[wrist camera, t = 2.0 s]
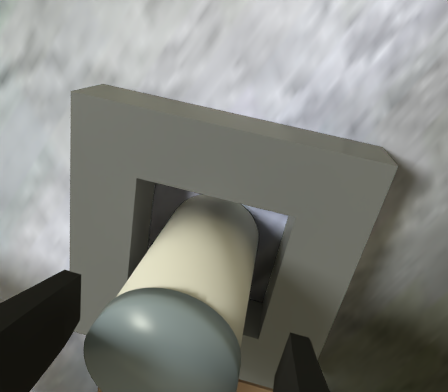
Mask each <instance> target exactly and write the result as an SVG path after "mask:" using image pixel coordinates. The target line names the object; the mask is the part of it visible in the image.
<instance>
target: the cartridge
mask: <svg viewBox="0 0 448 392" xmlns="http://www.w3.org/2000/svg"><path fill="white" fill-rule="evenodd" d="M258 240H259V235H258V229H257V225H256V223H255V221H254V219H253V217H252V215H251V214H250V213H249V212H248V210H247V209H246V208H245V207H244V206H242V205H241V204H240V203H236V202H232V201H228V200H224V199H220V198H215V197H211V196H207V195H203V194H201V195H197V196H194V197H191V198H189V199H187V200H186V201H185V202H183V203H182V204H181V205H180V206H179V207H178V208H177V209H176V211H175V212H174V214H173V215H172V217H171V218H170V220H169V221H168V222H167V224H166V225H165V227H164V228H163V230H162V231H161V233H160V234H159V235H158V237H157V238H156V240H155V241H154V243H153V244H152V246H151V247H150V248H149V250H148V251H147V253H146V254H145V256H144V257H143V259H142V260H141V262H140V263H139V264H138V266H137V267H136V269H135V270H134V272H133V273H132V275H131V276H130V277H129V279H128V280H127V282H126V283H125V285H124V286H123V288H122V289H121V291H120V292H119V293H118V295H117V296H116V298H114V299H113V300H112V301H111V302H109V303H108V304H107V306H106V307H105V308H104V309H103V311H102V312H101V314H100V315H99V316H98V318H97V319H96V321H95V322H94V323H93V325H92V326H91V328H90V329H89V331H88V333H87V335H86V338H85V342H84V359H85V363H86V366H87V369H88V372H89V373H90V375H91V377H92V379H93V380H94V382H95V383H96V385H97V386H98V387H99V388H100V390H101V391H102V392H236V391H237V386H238V380H239V373H240V367H241V350H240V347H241V341H242V335H243V329H244V323H245V318H246V312H247V306H248V300H249V294H250V288H251V282H252V276H253V271H254V265H255V259H256V253H257V247H258Z"/></svg>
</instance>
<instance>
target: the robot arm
mask: <svg viewBox="0 0 448 392" xmlns="http://www.w3.org/2000/svg"><path fill="white" fill-rule="evenodd" d="M80 313H81V274H78V273H74V272H71V271H67V270H63V271H61V272H59V273H57V274H56V275H54V276H52V277H50V278H48V279H46V280H44V281H42V282H40V283H39V284H37V285H35V286H33V287H31V288H29V289H27V290H25V291H23V292H21V293H20V294H18V295H16V296H14V297H12V298H10V299H8V300H6V301H4V302H2V303H0V392H29V391H30V390H31V389H32V388H33V386H34V385H35V384H36V383H37V381H38V380H39V379H40V377H41V376H42V375H43V374H44V372H45V371H46V370H47V368H48V367H49V366H50V365H51V363H52V362H53V361H54V359H55V358H56V357H57V355H58V354H59V353H60V352H61V350H62V349H63V348H64V346H65V344H66V343H67V341H68V340H69V338H70V336H71V335H72V333H73V331H74V330H75V328H76V326H77V325H78V323H79V321H80ZM273 392H330V391H329V389H328V386H327V384H326V381H325V379H324V376H323V374H322V371H321V368H320V366H319V363H318V360H317V357H316V355H315V352H314V349H313V346H312V342H311V340H310V339H309V337H305V336H301V335H298V334H294V333H291V332H290V334H289V337H288V340H287V342H286V345H285V348H284V351H283V354H282V357H281V359H280V362H279V365H278V368H277V371H276V373H275V377H274V385H273Z"/></svg>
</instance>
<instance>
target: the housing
mask: <svg viewBox="0 0 448 392" xmlns="http://www.w3.org/2000/svg"><path fill="white" fill-rule="evenodd" d="M397 168H398V165H397V164H396V163H395V162H394V161H393V159H392V158H391V157H390V156H389V155H388V153H387V152H386V151H385V150H384V149H383V148H382V147H380V146H376V145H371V144H367V143H362V142H358V141H353V140H349V139H345V138H340V137H336V136H331V135H327V134H322V133H318V132H314V131H309V130H305V129H300V128H296V127H291V126H287V125H283V124H278V123H274V122H269V121H265V120H260V119H256V118H252V117H247V116H243V115H238V114H234V113H229V112H225V111H221V110H216V109H212V108H207V107H203V106H198V105H194V104H190V103H185V102H181V101H176V100H172V99H167V98H163V97H159V96H154V95H150V94H145V93H141V92H136V91H132V90H128V89H123V88H119V87H114V86H110V85H105V84H101V85H96V86H92V87H87V88H83V89H79V90H74V91H71V157H70V271H71V272H74V273H78V274H81V313H80V321H79V323H78V325H77V326H76V328H75V330H74V332H77V333H81V334H84V335H87V333H88V331H89V329H90V328H91V326H92V325H93V323H94V322H95V321H96V319H97V318H98V316H99V315H100V314H101V312H102V311H103V309H104V308H105V307H106V306H107V304H108V303H109V302H111V301H112V300H113V299H114V298H116V296H117V295H118V293H119V292H120V291H121V289H122V288H123V286H124V285H125V283H126V282H127V280H128V279H129V277H130V276H131V275H132V273H133V272H134V270H135V269H136V267H137V266H138V264H139V263H140V262H141V260H142V259H143V257H144V256H145V254H146V253H147V250H148V242H149V233H150V224H151V215H152V207H153V198H154V189H155V183H159V184H163V185H167V186H171V187H175V188H179V189H183V190H187V191H191V192H195V193H199V194H203V195H207V196H211V197H215V198H220V199H224V200H228V201H232V202H236V203H240V204H244V205H248V206H252V207H256V208H260V209H264V210H268V211H272V212H276V213H280V214H284V215H288V219H287V223H286V226H285V229H284V233H283V236H282V239H281V243H280V246H279V250H278V253H277V256H276V260H275V263H274V266H273V270H272V273H271V276H270V280H269V283H268V287H267V290H266V293H265V297H264V300H263V303H260V302H257V301H253V300H248V306H247V312H246V318H245V323H244V329H243V335H242V341H241V347H240V350H241V367H240V373H239V379H241V380H244V381H247V382H251V383H254V384H258V385H261V386H265V387H268V388H272V389H273V385H274V377H275V373H276V371H277V368H278V365H279V362H280V359H281V357H282V354H283V351H284V348H285V345H286V342H287V340H288V337H289V334H290V332H291V333H294V334H298V335H301V336H305V337H309V339H310V340H311V342H312V346H313V349H314V352H315V355H316V357H317V360H318V358H319V356H320V353H321V351H322V349H323V346H324V344H325V341H326V339H327V337H328V334H329V332H330V329H331V327H332V325H333V322H334V320H335V317H336V315H337V313H338V310H339V308H340V305H341V303H342V301H343V298H344V296H345V293H346V291H347V289H348V286H349V284H350V281H351V279H352V277H353V274H354V272H355V269H356V267H357V265H358V262H359V260H360V257H361V255H362V253H363V250H364V248H365V245H366V243H367V241H368V238H369V236H370V233H371V231H372V229H373V226H374V224H375V221H376V219H377V216H378V214H379V212H380V209H381V207H382V204H383V202H384V200H385V197H386V195H387V192H388V190H389V188H390V185H391V183H392V180H393V178H394V176H395V173H396V171H397Z"/></svg>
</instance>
